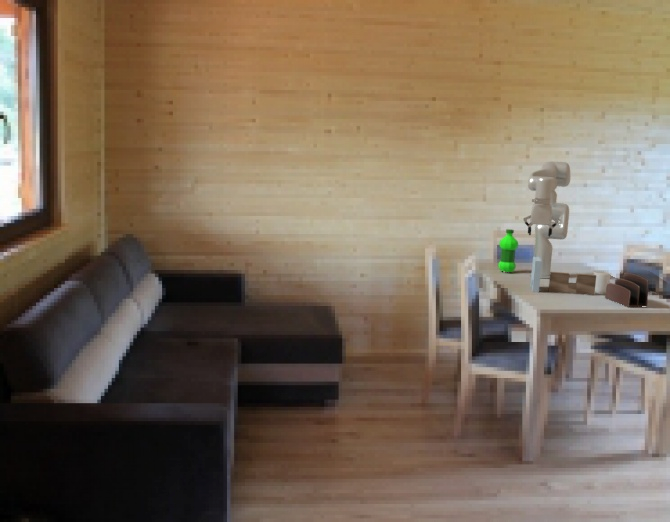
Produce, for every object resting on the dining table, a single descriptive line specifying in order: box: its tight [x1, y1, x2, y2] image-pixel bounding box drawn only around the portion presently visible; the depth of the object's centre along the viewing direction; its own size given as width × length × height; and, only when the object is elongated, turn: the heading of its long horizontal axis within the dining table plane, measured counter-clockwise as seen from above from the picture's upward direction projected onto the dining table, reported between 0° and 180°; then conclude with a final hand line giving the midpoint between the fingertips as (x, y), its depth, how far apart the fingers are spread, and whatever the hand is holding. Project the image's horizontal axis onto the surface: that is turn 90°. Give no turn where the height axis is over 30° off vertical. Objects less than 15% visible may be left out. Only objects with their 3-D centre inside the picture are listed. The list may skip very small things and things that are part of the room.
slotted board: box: [548, 271, 596, 296], centre depth 357 cm, size 3×22×10 cm, turn 79°
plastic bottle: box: [498, 228, 519, 273], centre depth 408 cm, size 10×10×25 cm
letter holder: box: [604, 272, 650, 308], centre depth 339 cm, size 10×20×14 cm, turn 11°
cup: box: [592, 270, 611, 294], centre depth 365 cm, size 8×12×10 cm
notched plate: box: [530, 256, 542, 293], centre depth 362 cm, size 14×3×16 cm, turn 169°
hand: (539, 235), depth 358 cm, fingers open, 9 cm apart
